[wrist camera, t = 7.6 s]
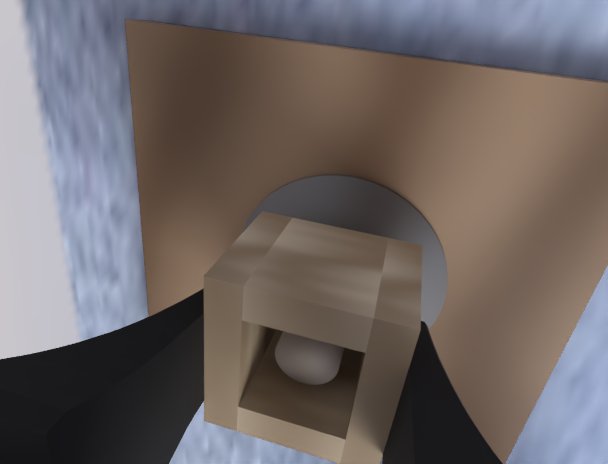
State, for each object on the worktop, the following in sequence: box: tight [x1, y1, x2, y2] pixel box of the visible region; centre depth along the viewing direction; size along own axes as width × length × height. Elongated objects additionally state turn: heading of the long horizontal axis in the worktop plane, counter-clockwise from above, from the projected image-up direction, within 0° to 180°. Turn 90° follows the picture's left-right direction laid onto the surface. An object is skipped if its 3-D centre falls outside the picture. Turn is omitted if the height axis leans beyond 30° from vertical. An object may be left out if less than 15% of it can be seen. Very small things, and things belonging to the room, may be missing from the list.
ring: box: [204, 211, 422, 464], centre depth 12 cm, size 5×5×4 cm
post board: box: [125, 19, 608, 464], centre depth 14 cm, size 16×15×6 cm
